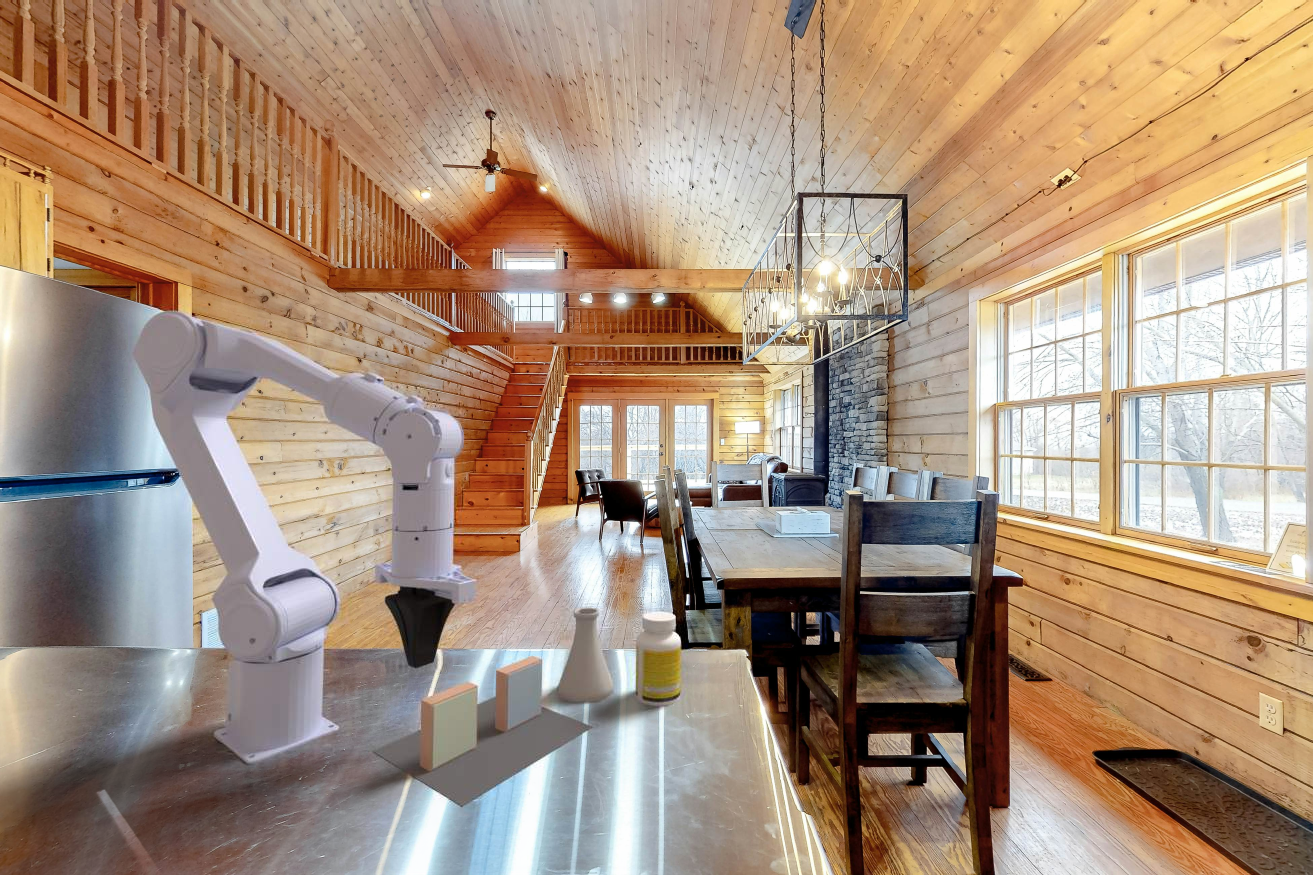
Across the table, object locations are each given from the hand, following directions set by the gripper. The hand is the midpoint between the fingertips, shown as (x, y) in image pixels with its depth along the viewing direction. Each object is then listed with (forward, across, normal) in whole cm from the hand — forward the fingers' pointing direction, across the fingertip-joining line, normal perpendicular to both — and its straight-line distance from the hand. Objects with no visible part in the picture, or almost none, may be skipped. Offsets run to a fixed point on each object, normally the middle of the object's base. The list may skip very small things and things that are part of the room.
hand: (421, 663), depth 55 cm
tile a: (+8, -5, 0) cm, 9 cm away
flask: (+8, -5, -18) cm, 21 cm away
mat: (+8, -5, -4) cm, 10 cm away
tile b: (+8, -5, -8) cm, 12 cm away
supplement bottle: (+8, -13, -22) cm, 27 cm away
